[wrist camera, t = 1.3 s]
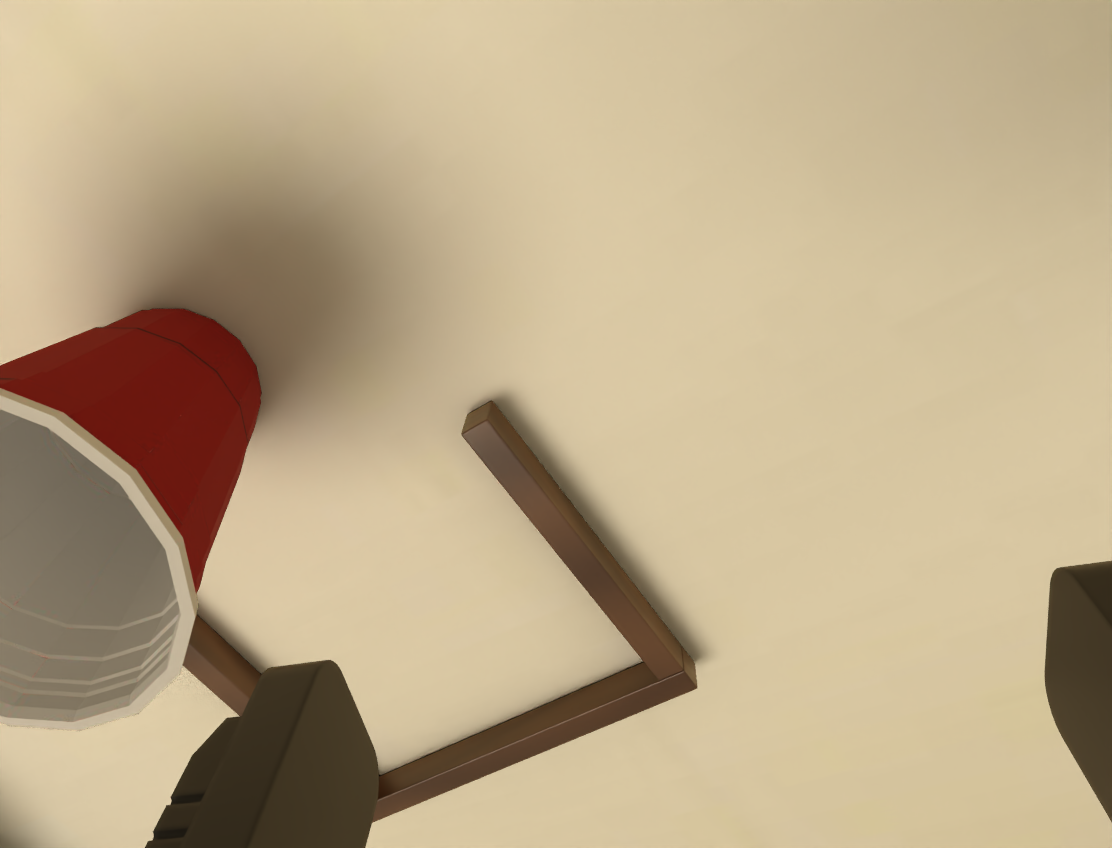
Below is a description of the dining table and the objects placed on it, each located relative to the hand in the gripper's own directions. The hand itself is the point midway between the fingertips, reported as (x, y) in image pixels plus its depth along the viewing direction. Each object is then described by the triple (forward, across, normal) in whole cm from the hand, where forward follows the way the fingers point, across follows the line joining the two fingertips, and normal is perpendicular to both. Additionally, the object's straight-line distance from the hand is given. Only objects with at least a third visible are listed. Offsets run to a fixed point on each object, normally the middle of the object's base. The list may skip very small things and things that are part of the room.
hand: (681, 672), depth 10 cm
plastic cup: (+22, +17, +3) cm, 28 cm away
